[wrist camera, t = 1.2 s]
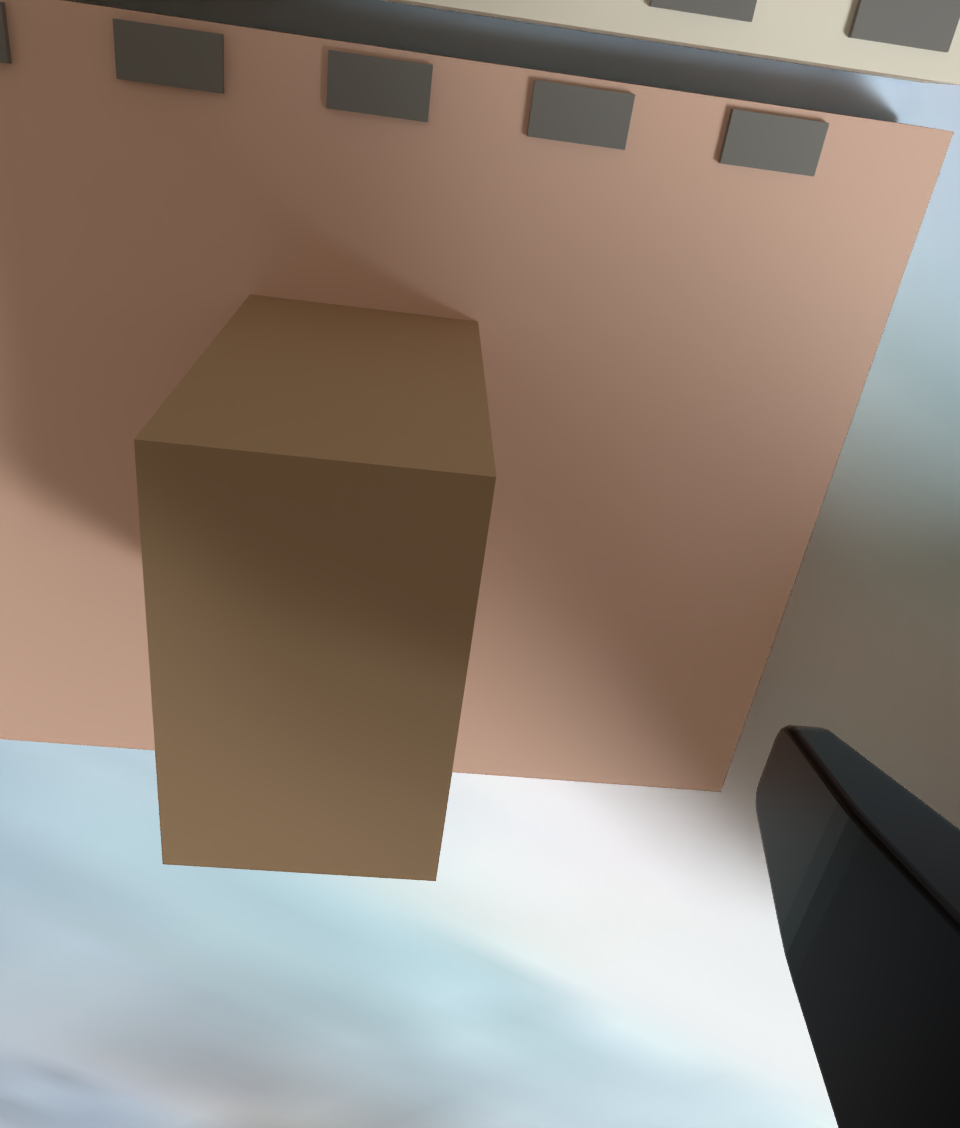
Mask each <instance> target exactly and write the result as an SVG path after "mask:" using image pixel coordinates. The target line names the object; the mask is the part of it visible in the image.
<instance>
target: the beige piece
mask: <svg viewBox="0 0 960 1128" xmlns="http://www.w3.org/2000/svg"><path fill="white" fill-rule="evenodd" d="M953 133H954V132H952V131H946V130H940V129H934V128H928V127H922V126H915V125H909V124H902V123H896V122H889V121H882V120H875V119H869V118H862V117H855V116H848V115H841V114H835V113H828V112H821V111H814V110H807V109H801V108H794V107H787V106H780V105H773V104H767V103H760V102H753V101H746V100H739V99H733V98H726V97H719V96H712V95H705V94H699V93H692V92H685V91H678V90H672V89H665V88H658V87H651V86H644V85H638V84H631V83H624V82H617V81H610V80H604V79H597V78H590V77H583V76H576V75H570V74H563V73H556V72H549V71H542V70H536V69H529V68H522V67H515V66H508V65H502V64H495V63H488V62H481V61H475V60H468V59H461V58H454V57H447V56H441V55H434V54H427V53H420V52H413V51H407V50H400V49H393V48H386V47H379V46H373V45H366V44H359V43H352V42H345V41H339V40H332V39H325V38H318V37H311V36H305V35H298V34H291V33H284V32H278V31H271V30H264V29H257V28H250V27H244V26H237V25H230V24H223V23H216V22H210V21H203V20H196V19H189V18H182V17H176V16H169V15H162V14H155V13H148V12H142V11H135V10H128V9H121V8H114V7H108V6H101V5H94V4H87V3H80V2H74V1H67V0H0V739H7V740H21V741H34V742H48V743H62V744H75V745H89V746H102V747H116V748H130V749H143V750H155V757H156V772H157V786H158V801H159V816H160V831H161V845H162V860H163V864H169V865H185V866H201V867H218V868H234V869H250V870H266V871H282V872H298V873H314V874H331V875H347V876H363V877H379V878H395V879H411V880H428V881H436V876H437V869H438V862H439V856H440V849H441V842H442V836H443V829H444V822H445V816H446V809H447V802H448V796H449V789H450V782H451V776H452V772H457V773H471V774H485V775H498V776H512V777H525V778H539V779H553V780H566V781H580V782H594V783H607V784H621V785H635V786H648V787H662V788H676V789H689V790H703V791H717V792H721V789H722V786H723V784H724V781H725V778H726V775H727V772H728V769H729V767H730V764H731V761H732V758H733V755H734V752H735V750H736V747H737V744H738V741H739V738H740V735H741V733H742V730H743V727H744V724H745V721H746V718H747V716H748V713H749V710H750V707H751V704H752V701H753V699H754V696H755V693H756V690H757V687H758V684H759V682H760V679H761V676H762V673H763V670H764V667H765V665H766V662H767V659H768V656H769V653H770V651H771V648H772V645H773V642H774V639H775V636H776V634H777V631H778V628H779V625H780V622H781V619H782V617H783V614H784V611H785V608H786V605H787V602H788V600H789V597H790V594H791V591H792V588H793V585H794V583H795V580H796V577H797V574H798V571H799V568H800V566H801V563H802V560H803V557H804V554H805V551H806V549H807V546H808V543H809V540H810V537H811V534H812V532H813V529H814V526H815V523H816V520H817V517H818V515H819V512H820V509H821V506H822V503H823V501H824V498H825V495H826V492H827V489H828V486H829V484H830V481H831V478H832V475H833V472H834V469H835V467H836V464H837V461H838V458H839V455H840V452H841V450H842V447H843V444H844V441H845V438H846V435H847V433H848V430H849V427H850V424H851V421H852V418H853V416H854V413H855V410H856V407H857V404H858V401H859V399H860V396H861V393H862V390H863V387H864V384H865V382H866V379H867V376H868V373H869V370H870V367H871V365H872V362H873V359H874V356H875V353H876V351H877V348H878V345H879V342H880V339H881V336H882V334H883V331H884V328H885V325H886V322H887V319H888V317H889V314H890V311H891V308H892V305H893V302H894V300H895V297H896V294H897V291H898V288H899V285H900V283H901V280H902V277H903V274H904V271H905V268H906V266H907V263H908V260H909V257H910V254H911V251H912V249H913V246H914V243H915V240H916V237H917V234H918V232H919V229H920V226H921V223H922V220H923V217H924V215H925V212H926V209H927V206H928V203H929V200H930V198H931V195H932V192H933V189H934V186H935V184H936V181H937V178H938V175H939V172H940V169H941V167H942V164H943V161H944V158H945V155H946V152H947V150H948V147H949V144H950V141H951V138H952V135H953Z"/></svg>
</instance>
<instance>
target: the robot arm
mask: <svg viewBox="0 0 960 1128" xmlns="http://www.w3.org/2000/svg"><path fill="white" fill-rule="evenodd" d="M756 812H757V817H758V822H759V828H760V833H761V838H762V843H763V848H764V853H765V858H766V863H767V868H768V873H769V878H770V883H771V889H772V894H773V899H774V904H775V909H776V914H777V919H778V924H779V929H780V934H781V938H782V943H783V947H784V952H785V956H786V960H787V963H788V967H789V970H790V974H791V977H792V981H793V984H794V987H795V990H796V993H797V997H798V1000H799V1003H800V1006H801V1009H802V1013H803V1016H804V1019H805V1022H806V1025H807V1029H808V1032H809V1035H810V1038H811V1041H812V1045H813V1048H814V1051H815V1054H816V1057H817V1061H818V1064H819V1067H820V1070H821V1073H822V1077H823V1080H824V1083H825V1086H826V1089H827V1093H828V1096H829V1099H830V1102H831V1105H832V1109H833V1112H834V1115H835V1118H836V1121H837V1125H838V1128H960V830H959V829H958V828H957V827H955V826H954V825H953V824H951V823H950V822H949V821H947V820H946V819H945V818H943V817H942V816H941V815H940V814H938V813H937V812H936V811H934V810H933V809H932V808H930V807H929V806H928V805H926V804H925V803H924V802H922V801H921V800H920V799H918V798H917V797H916V796H914V795H913V794H912V793H911V792H909V791H908V790H907V789H905V788H904V787H903V786H901V785H900V784H899V783H897V782H896V781H895V780H893V779H892V778H891V777H889V776H888V775H887V774H886V773H884V772H883V771H882V770H880V769H879V768H878V767H876V766H875V765H874V764H872V763H871V762H870V761H868V760H867V759H866V758H864V757H863V756H862V755H860V754H859V753H858V752H857V751H855V750H854V749H853V748H851V747H850V746H849V745H847V744H846V743H845V742H843V741H842V740H841V739H839V738H838V737H837V736H835V735H834V734H833V733H831V732H830V731H828V730H826V729H824V728H819V727H806V726H794V725H789V726H786V727H784V728H782V729H781V730H780V732H779V733H778V735H777V737H776V739H775V741H774V744H773V747H772V749H771V752H770V755H769V757H768V760H767V762H766V765H765V768H764V770H763V773H762V776H761V778H760V781H759V784H758V787H757V792H756Z"/></svg>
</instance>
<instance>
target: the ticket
mask: <svg viewBox="0 0 960 1128" xmlns="http://www.w3.org/2000/svg"><path fill="white" fill-rule="evenodd" d="M381 1H388V2H394V3H401V4H408V5H414V6H421V7H427V8H434V9H441V10H447V11H454V12H460V13H467V14H473V15H480V16H487V17H493V18H500V19H506V20H513V21H520V22H526V23H533V24H539V25H546V26H552V27H559V28H566V29H572V30H579V31H585V32H592V33H598V34H605V35H612V36H618V37H625V38H631V39H638V40H645V41H651V42H658V43H664V44H671V45H677V46H684V47H691V48H697V49H704V50H710V51H717V52H724V53H730V54H737V55H743V56H750V57H756V58H763V59H770V60H776V61H783V62H789V63H796V64H802V65H809V66H816V67H822V68H829V69H835V70H842V71H849V72H855V73H862V74H868V75H875V76H881V77H888V78H895V79H901V80H908V81H914V82H922V83H936V84H951V85H960V0H381Z"/></svg>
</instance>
